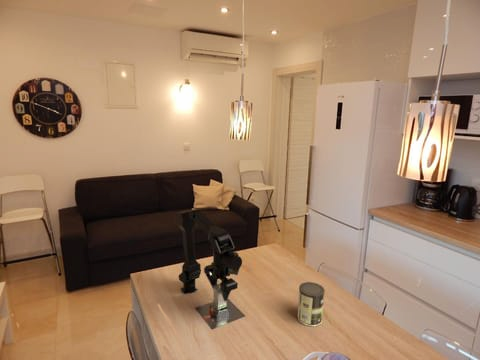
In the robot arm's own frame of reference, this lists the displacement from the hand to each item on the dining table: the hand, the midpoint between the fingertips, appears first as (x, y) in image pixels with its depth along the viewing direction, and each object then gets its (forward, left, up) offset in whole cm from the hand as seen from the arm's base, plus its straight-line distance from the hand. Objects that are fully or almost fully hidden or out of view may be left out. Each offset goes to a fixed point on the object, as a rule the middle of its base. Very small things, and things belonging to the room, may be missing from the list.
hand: (220, 295), depth 131 cm
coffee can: (+22, +31, -9) cm, 39 cm away
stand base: (0, 0, -9) cm, 9 cm away
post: (0, 0, -5) cm, 5 cm away
